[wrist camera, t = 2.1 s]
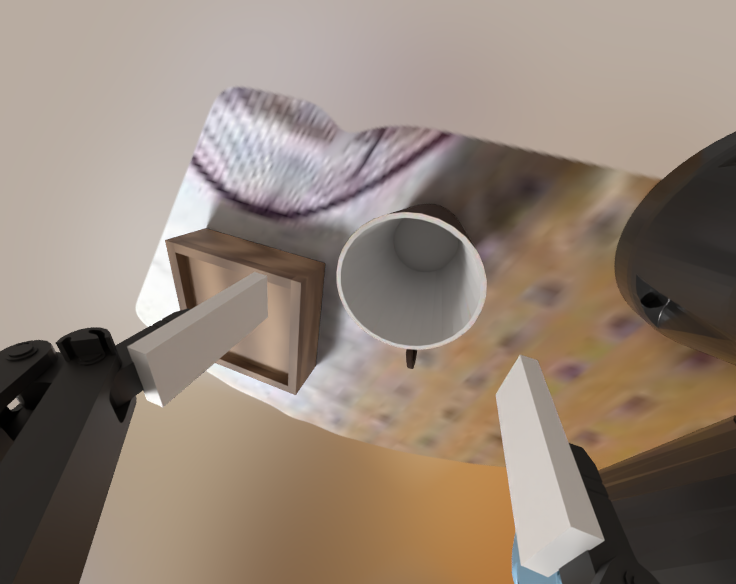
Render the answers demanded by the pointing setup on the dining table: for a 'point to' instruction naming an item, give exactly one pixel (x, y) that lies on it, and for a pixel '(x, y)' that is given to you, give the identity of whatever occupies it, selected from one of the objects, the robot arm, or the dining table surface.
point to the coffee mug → (412, 279)
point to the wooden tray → (285, 302)
